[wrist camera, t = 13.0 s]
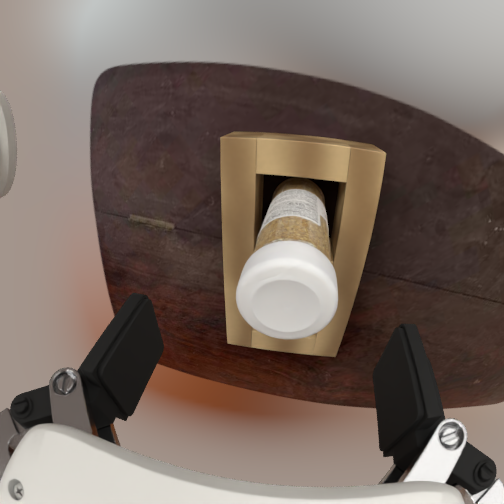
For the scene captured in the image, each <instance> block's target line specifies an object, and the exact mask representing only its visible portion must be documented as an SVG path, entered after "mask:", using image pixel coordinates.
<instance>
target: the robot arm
mask: <svg viewBox="0 0 504 504" xmlns="http://www.w3.org/2000/svg"><path fill="white" fill-rule="evenodd" d="M163 349H164V344H163V341H162V337H161V334H160V330H159V327H158V323H157V320H156V316H155V312H154V308H153V305H152V301H151V300H149V299H148V296H147V295H142V294H137V293H132V294H131V295H130V297H129V298H128V299H127V301H126V302H125V303H124V305H123V306H122V307H121V309H120V310H119V311H118V313H117V314H116V316H115V317H114V318H113V320H112V321H111V322H110V324H109V325H108V326H107V328H106V330H105V331H104V332H103V334H102V335H101V336H100V338H99V339H98V341H97V342H96V344H95V345H94V347H93V348H92V350H91V351H90V352H89V354H88V355H87V357H86V359H85V360H84V362H83V363H82V364H81V366H80V368H79V369H78V371H76V370H75V369H73V368H62V369H60V370H58V371H56V372H55V373H54V374H53V376H52V377H51V379H50V382H49V385H48V386H45V387H41V388H38V389H36V390H32V391H29V392H25V393H22V394H20V395H18V396H16V397H15V398H14V400H13V401H12V404H11V409H10V410H9V409H8V408H6V409H5V410H3V411H2V412H0V504H504V485H503V483H502V482H501V480H500V479H499V478H498V479H496V478H495V477H496V465H495V463H494V461H493V460H491V459H490V458H489V457H488V456H486V455H485V454H483V453H482V452H481V451H479V450H478V449H476V448H475V447H473V446H472V445H471V444H469V443H468V442H467V431H466V428H465V426H464V425H463V423H461V422H460V421H459V420H456V419H454V418H448V419H445V416H444V411H443V407H442V403H441V399H440V395H439V391H438V387H437V383H436V380H435V376H434V373H433V369H432V366H431V363H430V361H429V359H428V358H427V356H426V353H425V350H424V347H423V344H422V341H421V338H420V335H419V332H418V329H417V327H416V325H415V324H401V325H400V326H399V327H398V328H395V330H394V332H393V334H392V336H391V338H390V340H389V342H388V344H387V346H386V348H385V350H384V352H383V354H382V356H381V358H380V360H379V362H378V363H377V365H376V367H375V369H374V372H373V384H374V392H375V401H376V410H377V421H378V434H379V448H380V450H381V451H383V456H384V457H389V456H393V458H394V459H393V460H394V464H393V466H392V467H391V468H390V470H389V471H388V472H387V474H386V475H385V476H384V478H383V479H382V480H381V481H380V482H379V484H378V485H367V486H351V487H350V486H348V487H299V486H284V485H273V484H263V483H255V482H248V481H241V480H235V479H230V478H224V477H219V476H215V475H210V474H205V473H201V472H197V471H193V470H189V469H185V468H181V467H178V466H175V465H171V464H168V463H165V462H162V461H159V460H156V459H153V458H150V457H147V456H144V455H141V454H138V453H136V452H133V451H130V450H128V449H125V448H123V447H121V446H120V443H119V440H118V437H117V434H116V431H115V428H114V425H113V422H114V420H115V418H116V417H117V418H119V419H122V420H124V421H126V420H127V418H128V416H131V415H132V414H133V413H134V411H135V409H136V406H137V404H138V402H139V400H140V398H141V396H142V394H143V392H144V389H145V387H146V385H147V383H148V381H149V379H150V377H151V375H152V373H153V371H154V369H155V367H156V364H157V363H158V361H159V359H160V357H161V355H162V352H163Z"/></svg>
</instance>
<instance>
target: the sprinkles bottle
mask: <svg viewBox="0 0 504 504" xmlns="http://www.w3.org/2000/svg"><path fill="white" fill-rule="evenodd" d="M236 303H237V307H238V309H239V312H240V314H241V315H242V317H243V318H244V320H245V321H246V322H247V323H248V324H249V325H250V326H252V327H253V328H254V329H256V330H257V331H259V332H261V333H263V334H265V335H267V336H270V337H274V338H278V339H300V338H305V337H308V336H311V335H313V334H315V333H317V332H319V331H320V330H322V329H323V328H324V327H326V326H327V325H328V324H329V322H330V321H331V320H332V318H333V317H334V315H335V313H336V310H337V306H338V287H337V278H336V273H335V269H334V267H333V265H332V263H331V255H330V244H329V228H328V220H327V214H326V209H325V198H324V194H323V192H322V191H321V189H320V188H319V187H318V186H317V185H316V184H315V183H314V182H312V181H310V180H309V179H306V178H301V177H294V178H290V179H286V180H285V181H283V182H282V183H281V184H279V185H278V187H277V188H276V189H275V191H274V193H273V197H272V202H271V204H270V206H269V209H268V211H267V214H266V216H265V219H264V222H263V224H262V227H261V229H260V232H259V234H258V237H257V242H256V247H255V249H254V252H253V254H252V255H251V256H250V258H249V259H248V260H247V262H246V263H245V266H244V268H243V270H242V273H241V276H240V279H239V282H238V286H237V289H236Z"/></svg>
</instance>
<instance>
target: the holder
mask: <svg viewBox="0 0 504 504" xmlns="http://www.w3.org/2000/svg"><path fill="white" fill-rule="evenodd" d="M220 147H221V207H222V240H223V267H224V289H225V309H226V327H227V343H228V344H234V345H240V346H246V347H252V348H259V349H266V350H274V351H281V352H290V353H298V354H308V355H319V356H330V357H336V354H337V352H338V349H339V346H340V343H341V340H342V337H343V334H344V331H345V328H346V325H347V322H348V319H349V316H350V313H351V310H352V307H353V303H354V300H355V297H356V293H357V290H358V286H359V283H360V279H361V275H362V272H363V268H364V264H365V260H366V256H367V252H368V248H369V244H370V240H371V235H372V231H373V226H374V221H375V217H376V212H377V207H378V201H379V196H380V190H381V185H382V179H383V172H384V166H385V159H386V153H385V152H383V151H382V150H380V149H379V148H377V147H376V146H374V145H373V144H367V143H361V142H354V141H347V140H340V139H333V138H325V137H316V136H306V135H295V134H282V133H264V132H238V131H235V132H232V133H230V134H228V135H225V136H223V137H221V138H220ZM264 174H268V175H280V176H292V177H302V178H311V179H320V180H329V181H337V182H339V186H338V193H337V201H336V208H335V215H334V221H333V228H332V234H331V238H329V244H330V255H331V263H332V265H333V267H334V269H335V273H336V278H337V287H338V306H337V310H336V313H335V315H334V317H333V318H332V320H331V321H330V322H329V324H328V325H327V326H326V327H324V328H323V329H322V330H320V331H319V332H317V333H315V334H313V335H311V336H308V337H305V338H300V339H278V338H274V337H270V336H267V335H265V334H263V333H261V332H259V331H257V330H256V329H254V328H253V327H252V326H250V325H249V324H248V323H247V322H246V321H245V320H244V318H243V317H242V315H241V314H240V312H239V309H238V307H237V303H236V289H237V286H238V282H239V279H240V276H241V273H242V270H243V268H244V266H245V263H246V262H247V260H248V259H249V258H250V256H251V255H252V254H253V252H254V249H255V247H256V242H257V237H258V234H259V232H260V229H261V227H262V209H263V182H264Z"/></svg>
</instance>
